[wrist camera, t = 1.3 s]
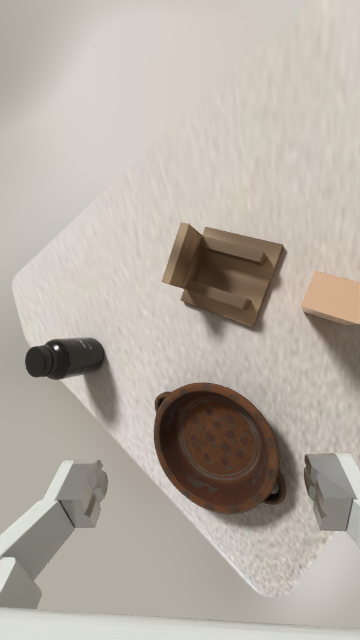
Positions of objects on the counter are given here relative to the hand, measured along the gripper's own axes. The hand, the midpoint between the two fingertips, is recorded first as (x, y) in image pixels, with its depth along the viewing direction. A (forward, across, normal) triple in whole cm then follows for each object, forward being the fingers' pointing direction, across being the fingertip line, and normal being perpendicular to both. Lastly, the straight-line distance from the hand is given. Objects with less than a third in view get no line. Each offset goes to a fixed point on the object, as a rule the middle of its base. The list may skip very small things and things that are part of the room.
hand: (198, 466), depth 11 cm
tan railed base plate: (+33, -4, +3) cm, 34 cm away
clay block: (+27, -16, +7) cm, 32 cm away
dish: (+23, 0, +25) cm, 34 cm away
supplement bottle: (+36, +24, +16) cm, 46 cm away
